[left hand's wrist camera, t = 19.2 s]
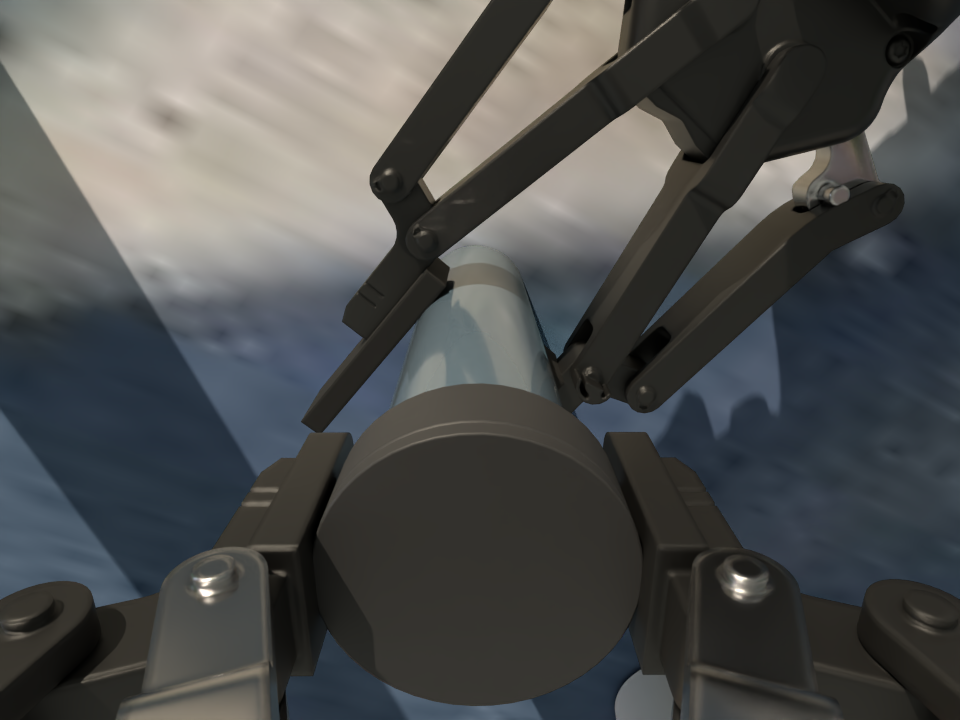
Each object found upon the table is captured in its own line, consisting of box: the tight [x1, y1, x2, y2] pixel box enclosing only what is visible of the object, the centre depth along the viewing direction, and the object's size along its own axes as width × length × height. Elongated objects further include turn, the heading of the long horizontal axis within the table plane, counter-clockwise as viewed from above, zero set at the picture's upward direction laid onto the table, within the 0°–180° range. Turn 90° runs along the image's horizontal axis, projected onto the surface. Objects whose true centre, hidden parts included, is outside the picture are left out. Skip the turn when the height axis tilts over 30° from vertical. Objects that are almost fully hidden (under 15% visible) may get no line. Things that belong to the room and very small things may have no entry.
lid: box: [312, 383, 643, 706], centre depth 10 cm, size 5×5×2 cm
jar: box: [389, 245, 564, 409], centre depth 18 cm, size 4×4×18 cm
